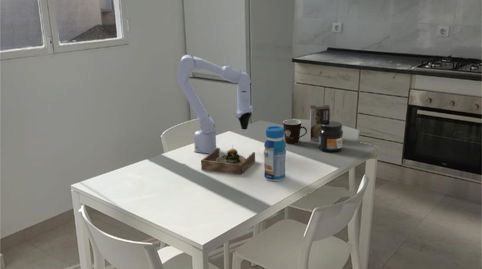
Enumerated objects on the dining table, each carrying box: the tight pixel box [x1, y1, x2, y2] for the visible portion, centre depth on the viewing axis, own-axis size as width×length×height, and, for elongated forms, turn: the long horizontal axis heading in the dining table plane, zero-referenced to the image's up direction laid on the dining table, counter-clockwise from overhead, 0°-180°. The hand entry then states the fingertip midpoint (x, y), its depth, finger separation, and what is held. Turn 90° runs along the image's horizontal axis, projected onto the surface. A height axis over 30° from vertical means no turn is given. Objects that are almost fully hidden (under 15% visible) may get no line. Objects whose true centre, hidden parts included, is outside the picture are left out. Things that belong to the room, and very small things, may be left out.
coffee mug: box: [282, 119, 308, 145], centre depth 215 cm, size 12×9×10 cm
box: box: [200, 148, 256, 176], centre depth 191 cm, size 18×16×4 cm
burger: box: [217, 146, 247, 165], centre depth 194 cm, size 12×12×8 cm
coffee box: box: [309, 104, 331, 142], centre depth 220 cm, size 9×6×16 cm
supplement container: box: [318, 120, 344, 153], centre depth 206 cm, size 10×10×12 cm
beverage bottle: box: [263, 125, 287, 182], centre depth 175 cm, size 8×8×20 cm
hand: (244, 128), depth 208 cm, fingers closed
